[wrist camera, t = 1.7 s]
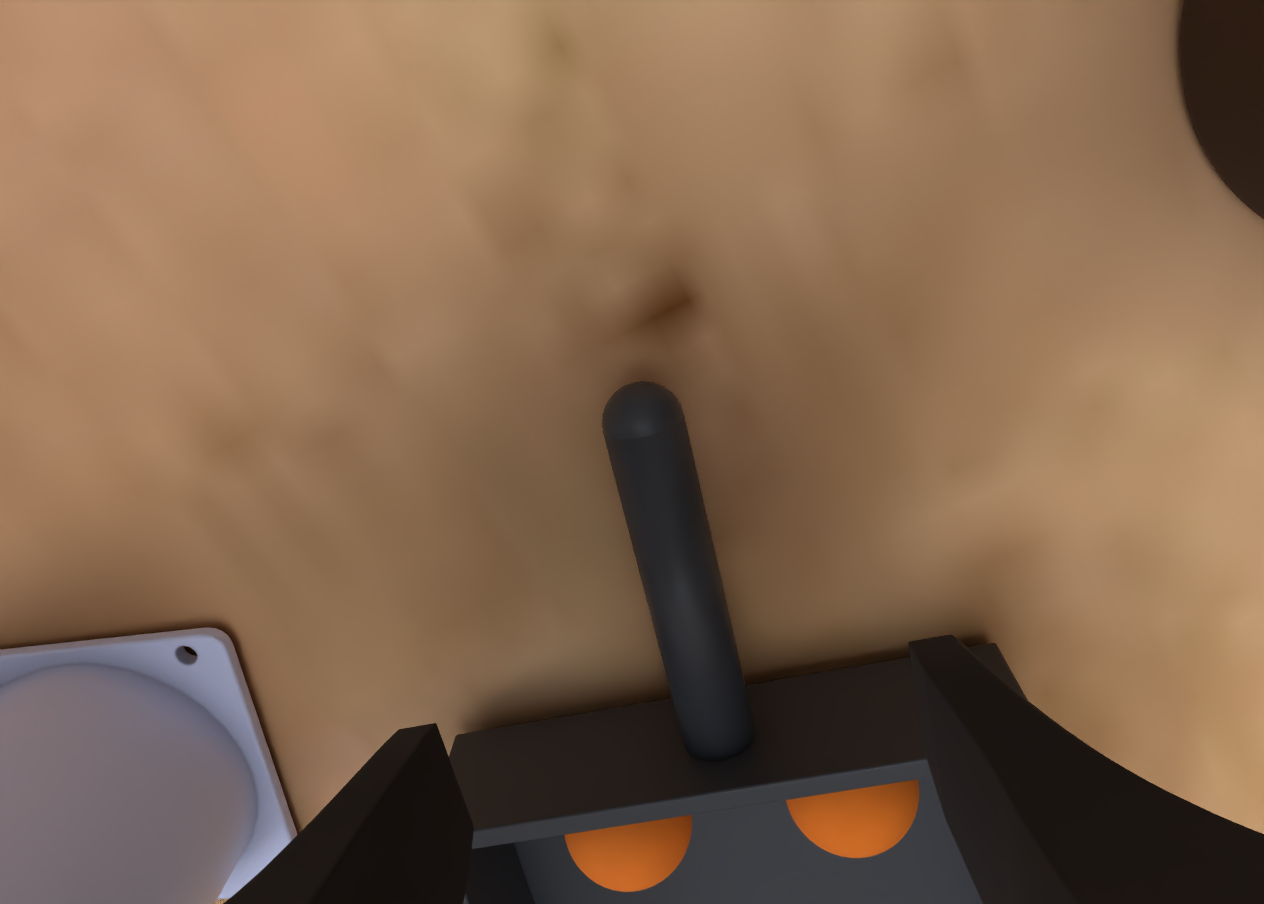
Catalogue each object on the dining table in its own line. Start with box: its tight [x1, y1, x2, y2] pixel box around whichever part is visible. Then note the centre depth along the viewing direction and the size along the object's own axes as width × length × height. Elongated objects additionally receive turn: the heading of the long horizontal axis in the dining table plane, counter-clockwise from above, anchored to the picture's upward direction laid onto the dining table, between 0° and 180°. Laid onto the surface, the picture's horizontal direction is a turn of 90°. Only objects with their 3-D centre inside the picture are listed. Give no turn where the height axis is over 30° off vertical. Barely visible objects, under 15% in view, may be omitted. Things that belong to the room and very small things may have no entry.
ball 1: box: [564, 815, 692, 892], centre depth 23 cm, size 3×3×3 cm
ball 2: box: [786, 779, 919, 858], centre depth 22 cm, size 3×3×3 cm
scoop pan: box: [449, 381, 1027, 904], centre depth 22 cm, size 19×13×4 cm
